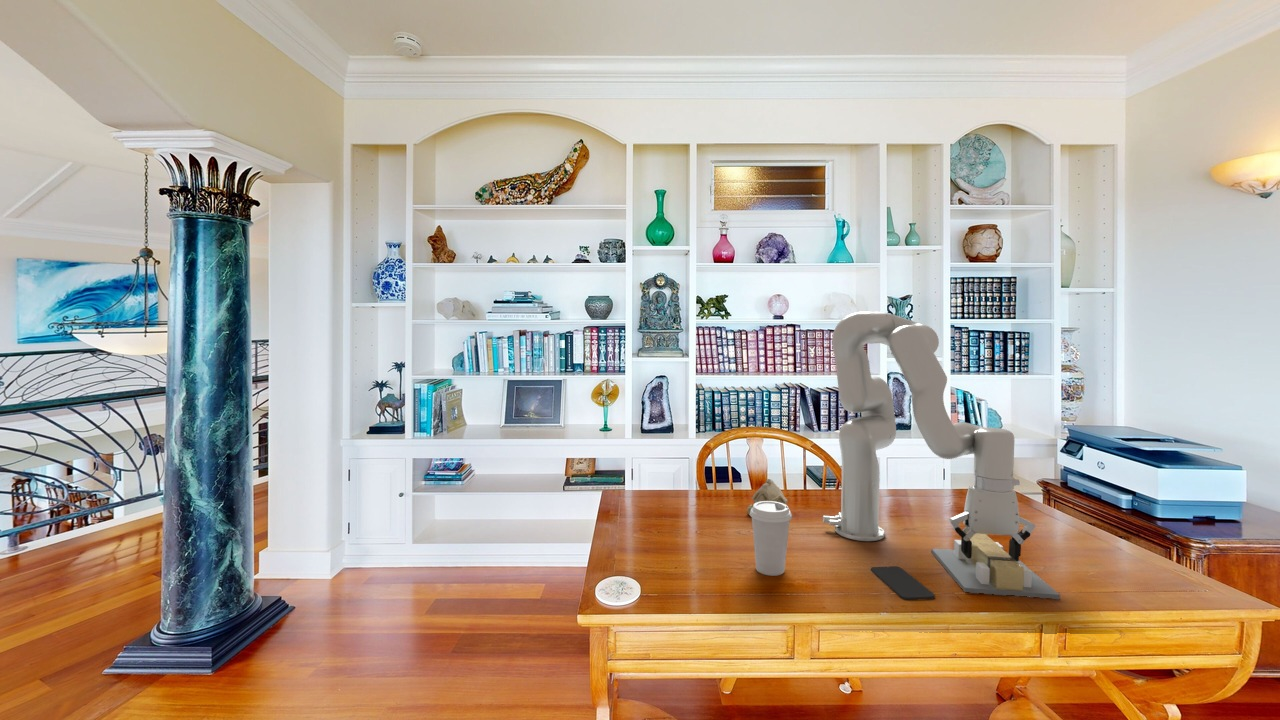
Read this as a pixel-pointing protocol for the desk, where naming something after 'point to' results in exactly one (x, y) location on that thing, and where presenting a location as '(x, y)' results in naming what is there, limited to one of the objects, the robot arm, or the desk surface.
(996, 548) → the tan long bar
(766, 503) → the coffee cup
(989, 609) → the desk surface
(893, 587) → the phone
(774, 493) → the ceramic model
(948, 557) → the peg plate
